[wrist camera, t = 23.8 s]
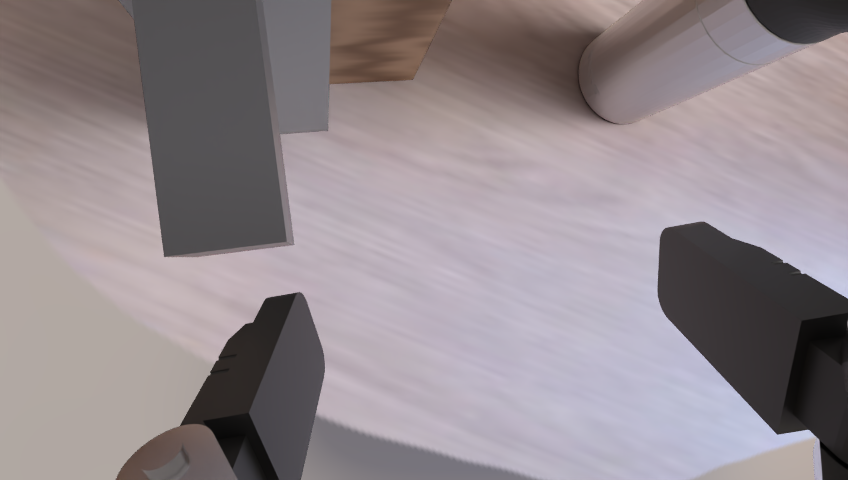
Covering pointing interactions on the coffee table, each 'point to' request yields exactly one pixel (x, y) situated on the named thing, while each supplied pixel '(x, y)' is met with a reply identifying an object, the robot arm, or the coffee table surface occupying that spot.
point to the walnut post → (381, 38)
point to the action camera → (212, 126)
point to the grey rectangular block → (297, 61)
